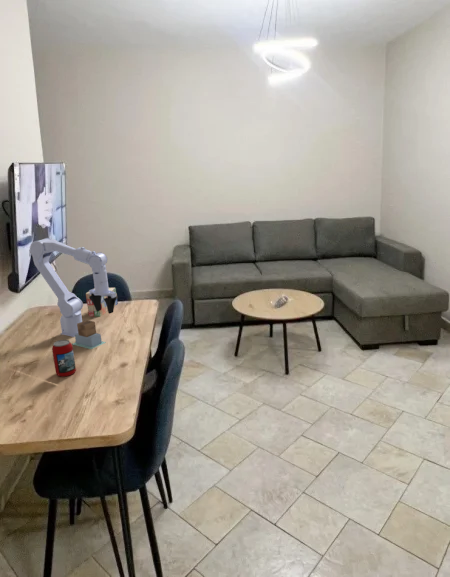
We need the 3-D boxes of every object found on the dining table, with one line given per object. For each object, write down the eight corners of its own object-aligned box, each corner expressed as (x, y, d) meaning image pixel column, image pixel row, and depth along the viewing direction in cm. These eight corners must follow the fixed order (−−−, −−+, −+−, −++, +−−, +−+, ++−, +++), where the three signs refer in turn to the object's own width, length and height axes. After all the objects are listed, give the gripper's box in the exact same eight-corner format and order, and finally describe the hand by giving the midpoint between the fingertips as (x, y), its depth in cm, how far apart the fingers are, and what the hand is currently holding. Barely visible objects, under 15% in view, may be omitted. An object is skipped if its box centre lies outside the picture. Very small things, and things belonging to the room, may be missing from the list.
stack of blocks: (107, 303, 238) (104, 282, 235) (118, 304, 237) (115, 282, 234) (88, 316, 218) (85, 293, 215) (100, 316, 217) (97, 293, 214)
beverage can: (64, 379, 150) (59, 347, 147) (52, 375, 154) (47, 344, 150) (80, 372, 155) (75, 340, 152) (68, 368, 159) (63, 337, 156)
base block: (76, 343, 181) (74, 334, 180) (85, 339, 186) (84, 330, 184) (92, 347, 176) (91, 338, 175) (101, 343, 180) (100, 334, 179)
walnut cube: (78, 335, 179) (76, 323, 178) (88, 331, 183) (86, 320, 182) (86, 337, 176) (85, 325, 175) (96, 333, 180) (94, 321, 179)
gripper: (82, 282, 186) (86, 312, 190) (105, 285, 178) (109, 316, 182) (94, 278, 192) (98, 307, 195) (118, 281, 184) (121, 311, 188)
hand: (104, 311), depth 189 cm, fingers open, 7 cm apart
